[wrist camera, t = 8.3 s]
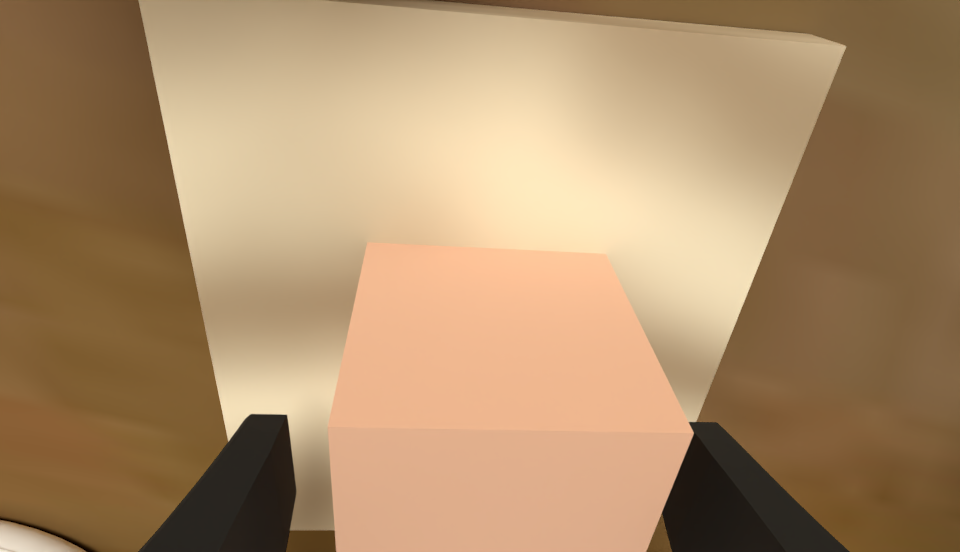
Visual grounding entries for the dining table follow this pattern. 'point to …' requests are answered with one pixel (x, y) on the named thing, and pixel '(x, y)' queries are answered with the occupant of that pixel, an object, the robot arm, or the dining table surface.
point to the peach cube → (498, 407)
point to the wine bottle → (31, 540)
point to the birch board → (465, 171)
